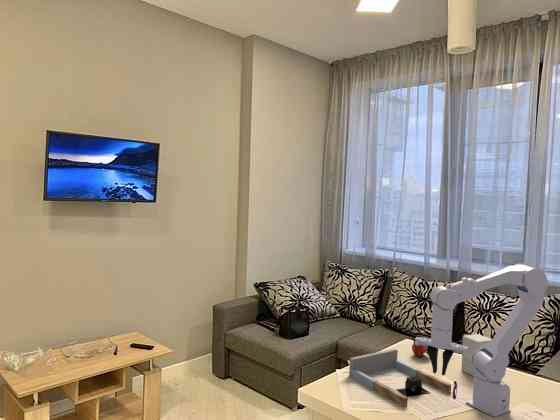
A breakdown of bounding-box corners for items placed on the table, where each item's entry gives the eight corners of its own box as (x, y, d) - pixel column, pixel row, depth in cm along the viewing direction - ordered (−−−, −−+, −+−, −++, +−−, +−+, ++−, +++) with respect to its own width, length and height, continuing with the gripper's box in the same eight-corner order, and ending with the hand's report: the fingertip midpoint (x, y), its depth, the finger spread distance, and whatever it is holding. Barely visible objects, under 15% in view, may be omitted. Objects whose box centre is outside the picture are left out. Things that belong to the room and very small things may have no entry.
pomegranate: (430, 360, 174) (411, 340, 178) (442, 349, 170) (422, 328, 174) (422, 367, 168) (403, 346, 173) (433, 356, 164) (413, 335, 169)
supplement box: (492, 375, 155) (494, 340, 154) (476, 378, 152) (478, 342, 152) (476, 367, 162) (478, 333, 161) (460, 370, 159) (462, 335, 158)
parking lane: (450, 392, 141) (451, 373, 140) (403, 406, 130) (404, 386, 130) (393, 364, 162) (394, 348, 161) (349, 375, 151) (349, 358, 150)
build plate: (422, 386, 146) (422, 372, 146) (437, 396, 139) (438, 381, 139) (390, 390, 142) (390, 376, 141) (404, 401, 135) (404, 386, 135)
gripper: (470, 329, 131) (467, 374, 132) (420, 320, 138) (417, 363, 139) (466, 335, 125) (463, 382, 126) (414, 325, 132) (412, 370, 133)
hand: (439, 373), depth 132 cm, fingers closed
